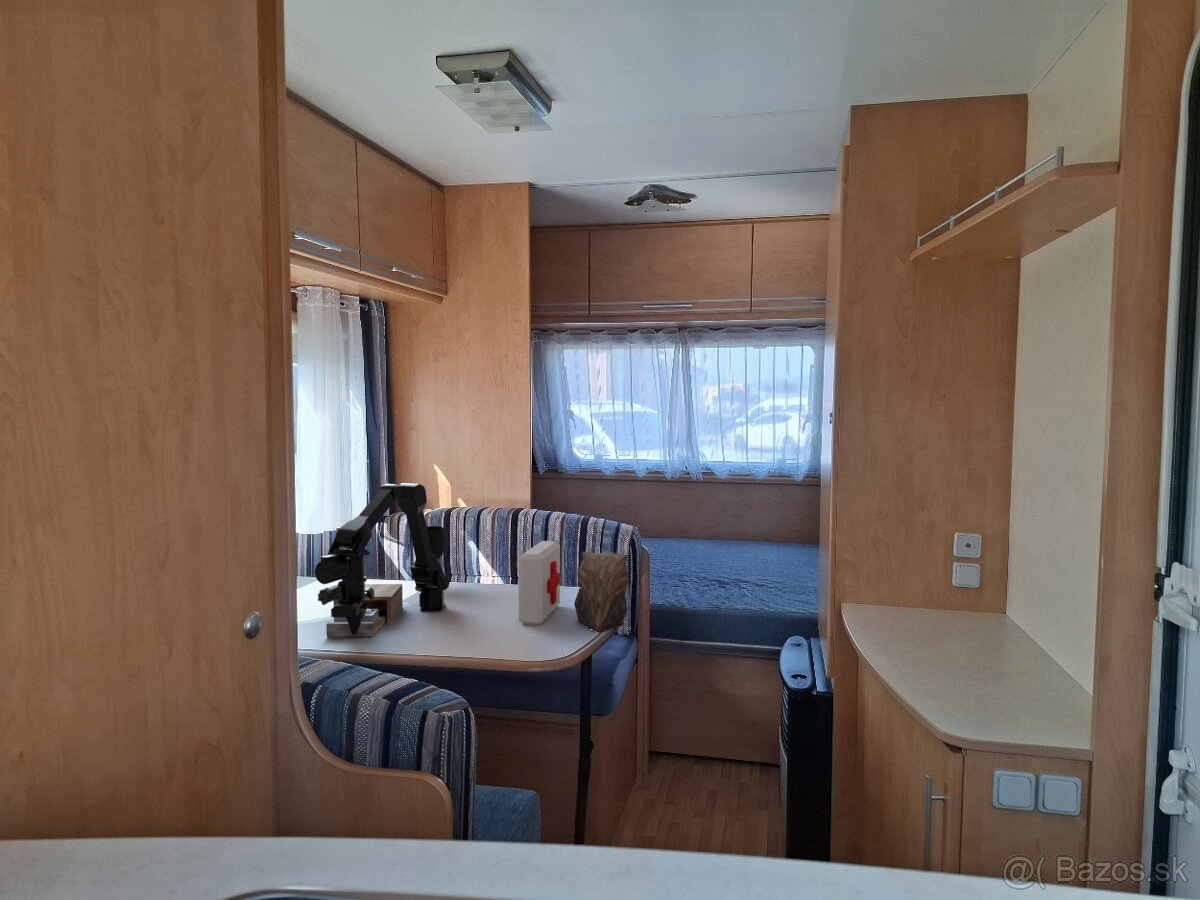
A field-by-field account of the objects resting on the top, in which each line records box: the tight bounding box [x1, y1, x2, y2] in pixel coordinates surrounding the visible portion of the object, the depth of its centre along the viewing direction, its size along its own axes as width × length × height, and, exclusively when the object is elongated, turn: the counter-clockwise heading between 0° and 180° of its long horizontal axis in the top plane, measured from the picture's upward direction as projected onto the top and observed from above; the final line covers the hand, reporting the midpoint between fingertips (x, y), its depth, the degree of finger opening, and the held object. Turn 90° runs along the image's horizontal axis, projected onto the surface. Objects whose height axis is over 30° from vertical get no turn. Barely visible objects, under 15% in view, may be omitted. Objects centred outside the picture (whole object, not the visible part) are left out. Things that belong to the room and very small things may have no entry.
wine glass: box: [414, 525, 447, 592], centre depth 249 cm, size 10×10×20 cm
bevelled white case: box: [517, 540, 561, 626], centre depth 219 cm, size 21×8×20 cm, turn 168°
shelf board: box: [325, 616, 387, 638], centre depth 206 cm, size 12×14×4 cm
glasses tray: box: [335, 609, 380, 626], centre depth 206 cm, size 10×6×4 cm, turn 92°
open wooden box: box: [333, 583, 404, 624], centre depth 218 cm, size 16×14×8 cm
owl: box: [573, 551, 629, 634], centre depth 211 cm, size 13×13×20 cm
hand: (354, 634), depth 196 cm, fingers closed
